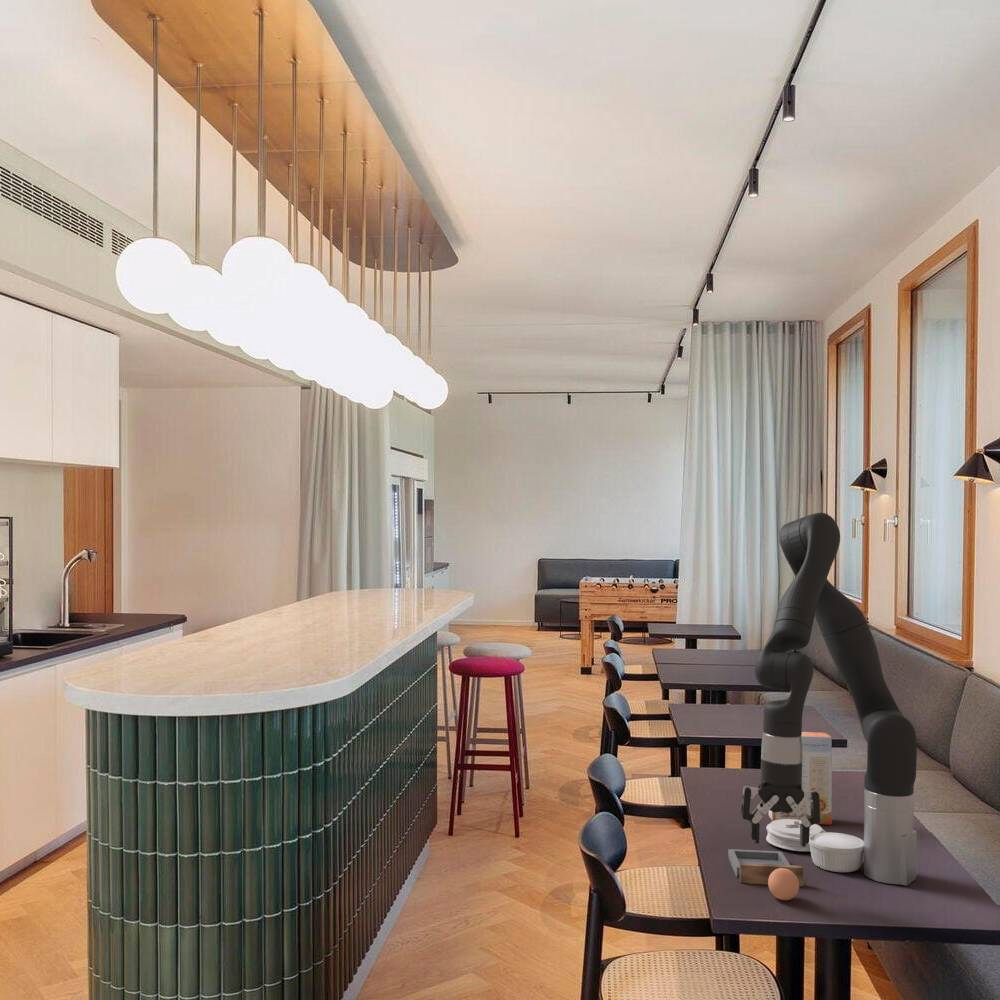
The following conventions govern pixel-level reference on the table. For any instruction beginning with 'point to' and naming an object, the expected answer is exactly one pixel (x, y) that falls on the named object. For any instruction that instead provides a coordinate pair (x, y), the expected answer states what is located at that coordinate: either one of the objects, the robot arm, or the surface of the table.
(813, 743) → the cracker box
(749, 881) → the wall
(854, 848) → the ramekin
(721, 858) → the table surface
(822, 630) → the robot arm
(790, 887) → the ball
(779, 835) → the lid
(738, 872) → the tray
